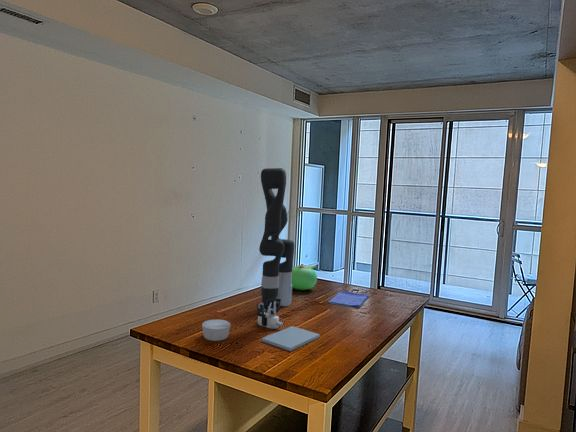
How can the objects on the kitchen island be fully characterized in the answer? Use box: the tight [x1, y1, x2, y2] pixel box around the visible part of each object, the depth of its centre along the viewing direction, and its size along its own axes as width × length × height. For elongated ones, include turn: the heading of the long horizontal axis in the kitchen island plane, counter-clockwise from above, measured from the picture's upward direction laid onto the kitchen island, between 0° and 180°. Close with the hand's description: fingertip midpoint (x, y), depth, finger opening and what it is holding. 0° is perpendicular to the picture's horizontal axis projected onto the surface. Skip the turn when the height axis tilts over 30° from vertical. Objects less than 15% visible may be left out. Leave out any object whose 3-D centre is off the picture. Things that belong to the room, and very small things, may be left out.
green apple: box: [292, 264, 318, 291], centre depth 250 cm, size 18×17×15 cm
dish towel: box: [328, 290, 369, 309], centre depth 232 cm, size 17×24×3 cm
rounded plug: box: [257, 312, 284, 330], centre depth 184 cm, size 4×13×4 cm, turn 53°
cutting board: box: [261, 325, 321, 352], centre depth 169 cm, size 20×14×1 cm
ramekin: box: [201, 318, 231, 342], centre depth 168 cm, size 11×11×5 cm
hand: (268, 324), depth 184 cm, fingers open, 4 cm apart
